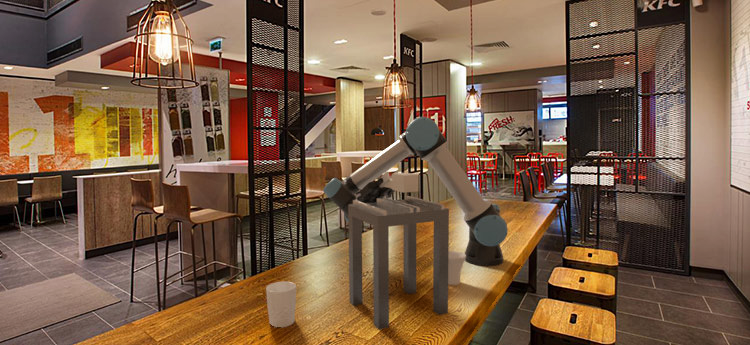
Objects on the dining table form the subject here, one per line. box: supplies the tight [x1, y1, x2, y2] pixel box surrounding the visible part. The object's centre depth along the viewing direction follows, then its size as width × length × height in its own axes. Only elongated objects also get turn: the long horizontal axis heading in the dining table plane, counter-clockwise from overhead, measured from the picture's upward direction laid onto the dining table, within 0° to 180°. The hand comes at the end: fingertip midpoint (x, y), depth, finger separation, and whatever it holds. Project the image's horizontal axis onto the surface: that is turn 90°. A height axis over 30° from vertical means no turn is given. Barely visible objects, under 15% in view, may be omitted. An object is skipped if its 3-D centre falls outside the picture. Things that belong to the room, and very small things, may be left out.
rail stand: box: [348, 195, 450, 330], centre depth 118 cm, size 20×22×31 cm
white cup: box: [265, 281, 297, 328], centre depth 110 cm, size 8×8×10 cm
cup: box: [448, 250, 466, 286], centre depth 139 cm, size 9×9×10 cm
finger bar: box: [377, 172, 419, 194], centre depth 127 cm, size 19×5×5 cm, turn 26°
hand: (393, 175), depth 128 cm, fingers closed on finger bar, 3 cm apart
